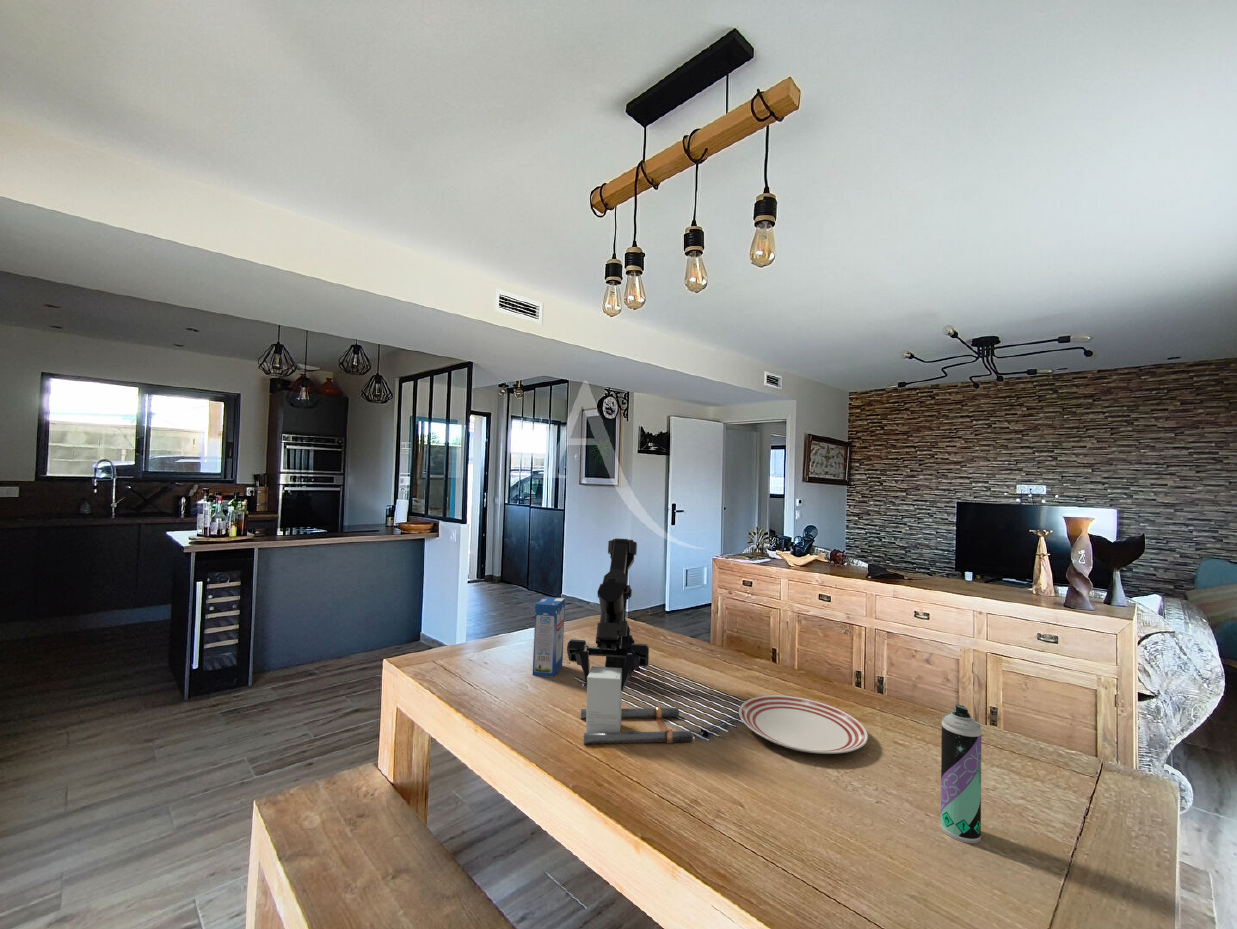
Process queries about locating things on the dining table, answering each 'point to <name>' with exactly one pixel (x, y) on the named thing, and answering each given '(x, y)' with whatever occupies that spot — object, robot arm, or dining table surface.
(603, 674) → the supplement box
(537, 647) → the milk carton
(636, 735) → the pipe track
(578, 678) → the dining table surface
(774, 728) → the dinner plate
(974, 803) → the spray can
